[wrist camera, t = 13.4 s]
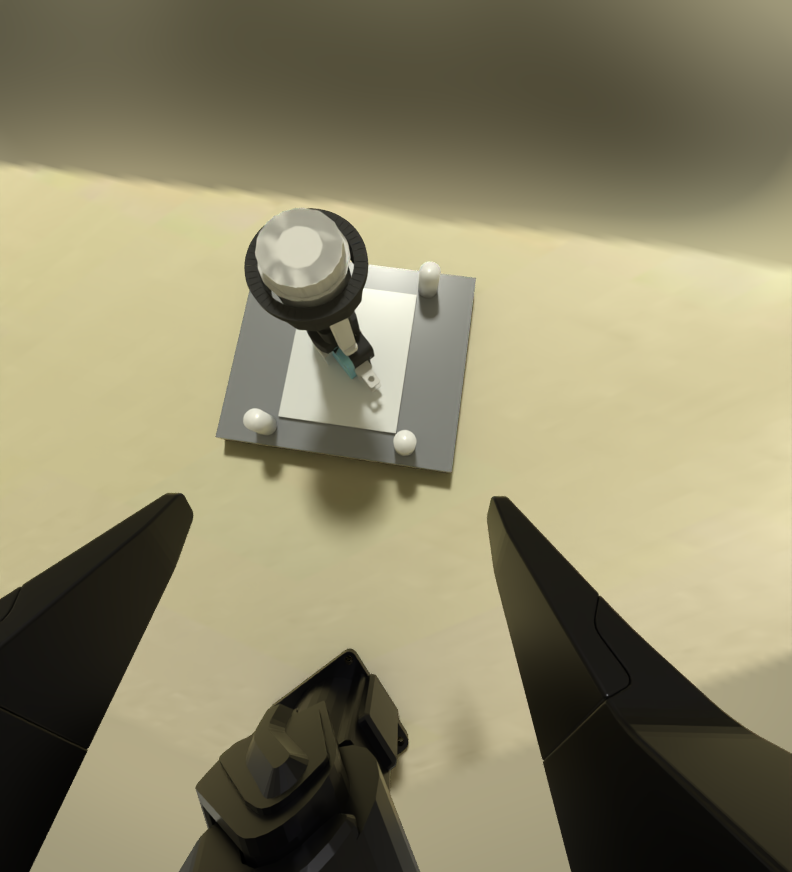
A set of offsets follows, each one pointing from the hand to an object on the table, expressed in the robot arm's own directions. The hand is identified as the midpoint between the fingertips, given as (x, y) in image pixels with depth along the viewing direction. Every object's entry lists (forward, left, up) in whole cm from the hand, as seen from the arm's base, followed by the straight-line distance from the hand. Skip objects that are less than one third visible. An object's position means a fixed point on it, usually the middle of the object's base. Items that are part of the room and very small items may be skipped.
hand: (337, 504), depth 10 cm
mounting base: (+4, +9, -14) cm, 17 cm away
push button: (+4, +9, -12) cm, 16 cm away
